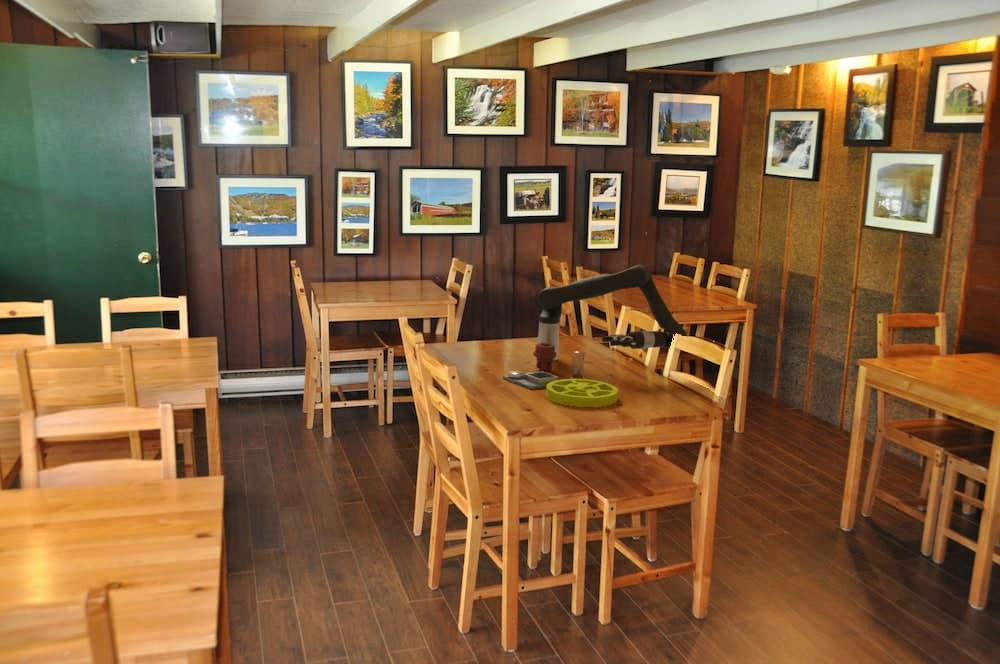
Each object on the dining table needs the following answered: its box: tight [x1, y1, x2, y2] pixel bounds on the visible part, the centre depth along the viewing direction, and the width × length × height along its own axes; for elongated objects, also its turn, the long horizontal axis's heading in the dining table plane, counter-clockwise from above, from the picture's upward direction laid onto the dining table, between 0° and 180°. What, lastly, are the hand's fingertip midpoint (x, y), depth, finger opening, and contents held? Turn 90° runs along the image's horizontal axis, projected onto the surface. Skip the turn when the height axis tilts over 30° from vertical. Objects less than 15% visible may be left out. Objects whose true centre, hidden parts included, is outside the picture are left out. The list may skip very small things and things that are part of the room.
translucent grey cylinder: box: [569, 350, 586, 379], centre depth 373 cm, size 6×6×12 cm
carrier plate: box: [502, 370, 559, 390], centre depth 368 cm, size 20×16×3 cm
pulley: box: [545, 378, 619, 408], centre depth 347 cm, size 28×28×5 cm
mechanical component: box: [533, 342, 556, 372], centre depth 387 cm, size 12×10×10 cm
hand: (606, 341), depth 375 cm, fingers open, 8 cm apart
